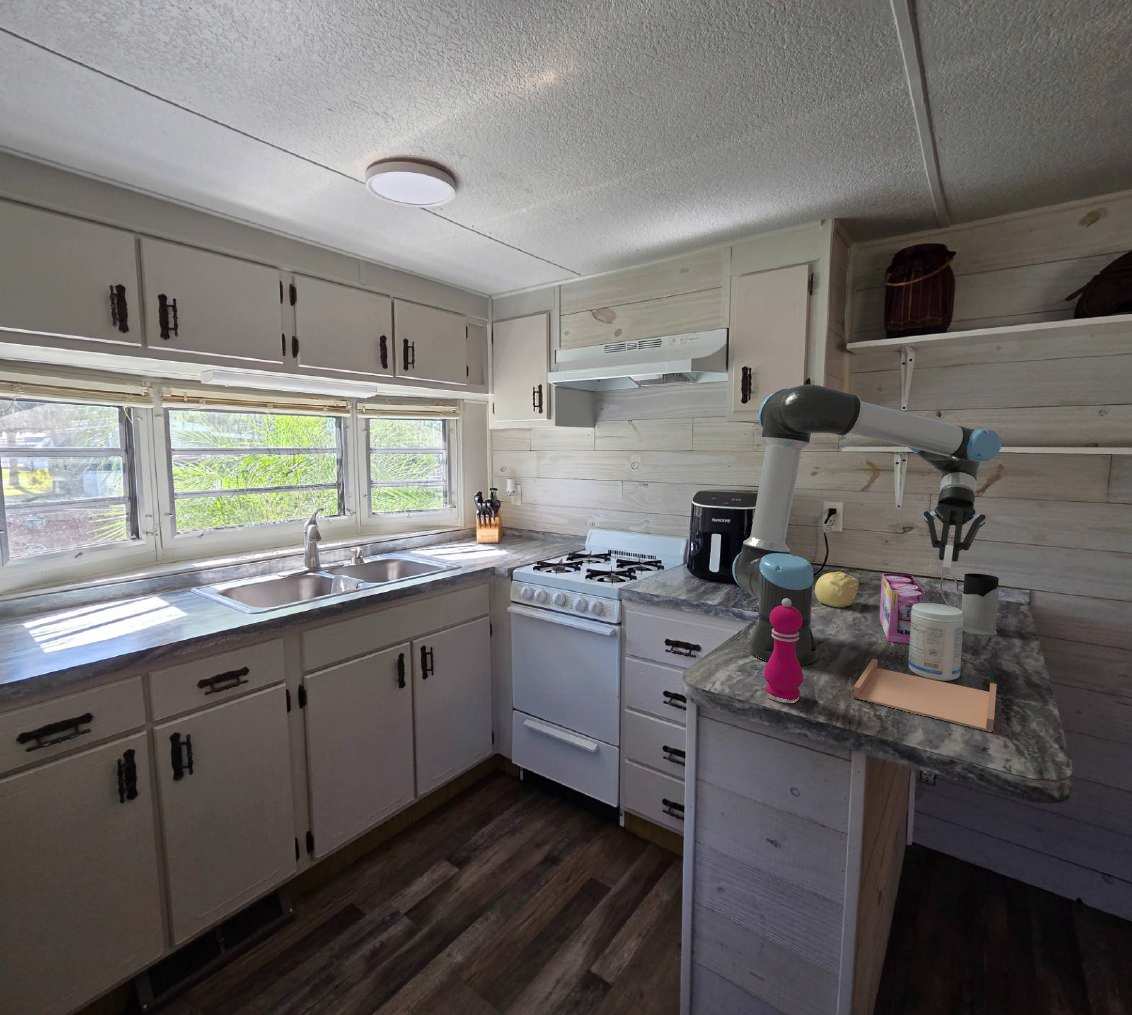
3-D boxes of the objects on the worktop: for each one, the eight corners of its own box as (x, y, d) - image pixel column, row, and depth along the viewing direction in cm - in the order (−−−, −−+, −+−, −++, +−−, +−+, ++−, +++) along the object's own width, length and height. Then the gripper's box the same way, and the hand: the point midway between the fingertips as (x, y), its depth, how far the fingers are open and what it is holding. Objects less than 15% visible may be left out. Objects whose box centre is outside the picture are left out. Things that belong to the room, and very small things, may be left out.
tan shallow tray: (872, 669, 125) (872, 658, 125) (995, 696, 112) (996, 684, 112) (853, 698, 111) (853, 686, 110) (992, 733, 97) (994, 719, 97)
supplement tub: (938, 664, 128) (943, 602, 127) (970, 681, 119) (976, 614, 117) (898, 665, 128) (902, 602, 126) (926, 682, 118) (931, 614, 117)
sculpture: (844, 612, 170) (846, 577, 169) (807, 603, 180) (809, 570, 179) (863, 606, 177) (865, 572, 176) (826, 598, 186) (828, 566, 185)
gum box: (924, 648, 139) (927, 594, 138) (887, 643, 143) (891, 591, 141) (909, 621, 161) (912, 574, 160) (878, 618, 164) (881, 572, 163)
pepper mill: (802, 707, 107) (807, 605, 105) (762, 701, 109) (766, 601, 107) (801, 692, 113) (806, 595, 111) (764, 687, 116) (767, 592, 114)
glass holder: (989, 637, 147) (993, 581, 146) (930, 623, 159) (933, 571, 157) (1002, 631, 152) (1007, 577, 150) (944, 618, 164) (948, 568, 162)
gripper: (988, 505, 141) (980, 583, 129) (927, 503, 149) (914, 576, 137) (989, 485, 136) (981, 564, 125) (925, 484, 144) (913, 558, 133)
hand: (946, 570), depth 131 cm, fingers closed
